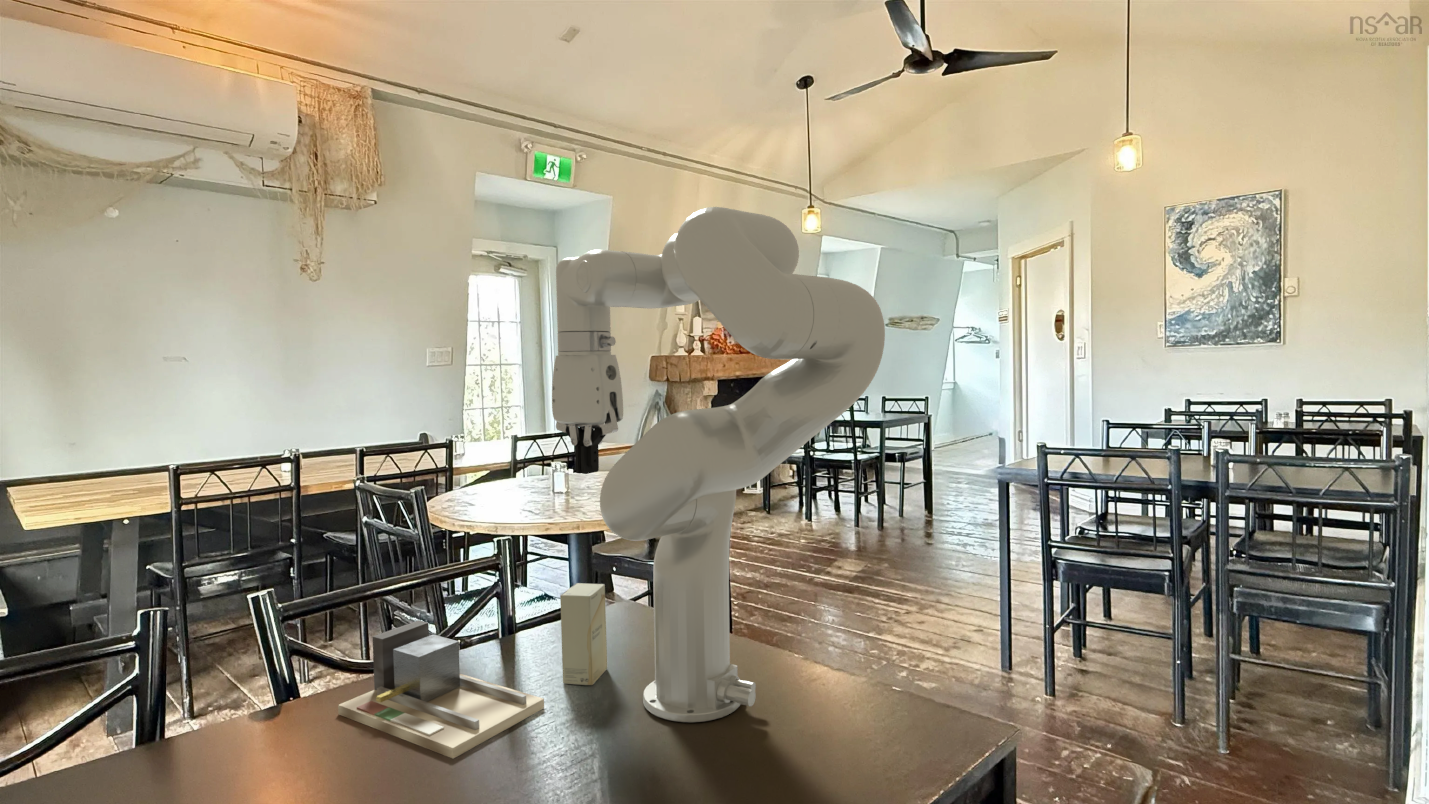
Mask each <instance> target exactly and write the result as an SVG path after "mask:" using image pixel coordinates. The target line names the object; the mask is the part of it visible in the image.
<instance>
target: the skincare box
mask: <svg viewBox="0 0 1429 804" xmlns="http://www.w3.org/2000/svg"><path fill="white" fill-rule="evenodd" d="M605 586H606V585H605V583H587V582H585V583H581V582H576V583H575V584H573V585H572V586H570V587H569V588H568V589H566V590H565V591H564V592H562V593H561V594H560V599H559V601H560V625H561V627H560V629H561V630H560V631H561V632H560V633H561V659H562V661H561V662H562V663H561V664H562V666H561V667H562V683H563V684H564V685H565V684H569V685H577V686H593V685H594V684H595V683H596V682H597V681H598V680H599V679H600V678H601V676H602V675H603V674H604V673H605V672H606V671H607V669H608V648H607V647H608V645H607V644H608V643H607V621H606V619H607V614H606V587H605Z"/></svg>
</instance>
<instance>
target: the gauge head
mask: <svg viewBox="0 0 1429 804" xmlns="http://www.w3.org/2000/svg"><path fill="white" fill-rule="evenodd" d="M459 645H460V641H458V640H455V639H451V638H448V637H444V636H440V635H436V634H431V635H430V634H429V636H427V637H425V638H422V639H419V640H417V641H414V642H412V643H409V644H406V645H404V646H401V647H398V648H396V649H393V657H394V684H395V688H394V689H392V690H390V691H387V692H385V693H383V694H380V695H378V696H376V701H378V702H380V703H381V702H383V701H385V700H388V699H390V698H392V697H395V696H397V695H399V694H401V693H402V694H405V695H408V696H411V697H414V698H416V699H419V700H422V701H425V702H428V701H430V700H432V699H435V698H437V697H439V696H441V695H443V694H445V693H448V692H450V691H452V690H454V689H456V688H458V687H460V674H461V673H460V670H461V669H460V648H459V647H460V646H459Z"/></svg>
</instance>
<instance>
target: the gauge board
mask: <svg viewBox="0 0 1429 804" xmlns="http://www.w3.org/2000/svg"><path fill="white" fill-rule="evenodd" d="M429 629H430V628H429V622H427V621H423V620H419V619H418V620H416V621H413V622H410V623H407V624H403V625H401V626H398V627H396V628H393V629H389V630H387V631H384V632H380V633H378V634H375V635H372V657H373V658H372V659H373V661H372V663H373V682H374V688H373V690H371V691H368V692H365V693H363V694H361V695H358V696H356V697H354V698H352V699H348V700H346V701H344V702H340V704H338V706H337V709H338V710H337V711H338V715H339V716H342V717H345V718H347V719H350V720H352V721H355V722H358V723H360V724H363V725H365V726H368V727H371V728H372V729H376V730H378V731H381V732H383V733H386V734H389V735H391V736H393V737H396V738H399V739H402V740H404V741H406V742H409V743H410V744H411V743H412V744H415V745H417V746H419V747H422V748H424V749H427V750H430V751H433V752H435V753H436V754H437V753H438V754H441V755H443V756H445V757H448V758H449V759H450V758H451V759H455V758H457V757H460V756H461V755H463V754H465V753H466V752H468V751H469V750H472V749H474V748H475V747H477V746H479V745H480V744H483V743H484V742H486V741H487V740H489V739H491V738H494V737H495V736H497V735H499V734H500V733H502V732H503V731H504V732H505V730H507V729H510V728H511V727H513V726H515V725H516V724H518V723H521V722H522V721H524V720H525V719H527V718H529V717H531V716H532V715H535V714H536V713H538V712H540V711H542V710H544V709H545V698H543V697H540V696H537V695H533V694H529V693H526V692H524V691H520V690H516V689H513V688H510V687H506V686H503V685H499V684H496V683H493V682H489V681H486V680H482V679H479V678H477V677H472V676H470V675H466V674H462V673H460V687H458V688H456V689H454V690H452V691H450V692H448V693H445V694H443V695H441V696H439V697H437V698H435V699H432V700H430V701H428V702H425V701H422V700H419V699H416V698H414V697H411V696H408V695H405V694H402V693H401V694H399V695H397V696H395V697H392V698H390V699H388V700H385V701H383V702H381V703H380V702H378V701H376V696H378V695H380V694H383V693H385V692H387V691H390V690H392V689H394V688H395V684H394V657H393V649H396V648H398V647H401V646H404V645H406V644H409V643H412V642H414V641H417V640H419V639H422V638H425V637H427V636H430V631H429Z"/></svg>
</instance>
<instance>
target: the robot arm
mask: <svg viewBox="0 0 1429 804" xmlns="http://www.w3.org/2000/svg"><path fill="white" fill-rule="evenodd" d="M661 252H662V253H661V254H648V253H640V252H631V251H619V250H609V249H593V250H590V251H587V252H585V253H583V254H582V255H580V256H575V257H573V256H572V257H565V258H563V259H561V260H560V261H558V263H556V264H557V265H556V269H555V276H556V277H555V280H556V284H555V285H556V287H555V288H556V319H557V320H556V322H557V323H556V324H557V355H555V359H554V366H553V373H552V384H551V385H552V386H551V410H552V411H551V412H552V417H553V419H554V420H555V421H556V425H555V428H556V430H557V431H560V432H562V433H566V434H567V436H568V437H569V438H570V442H571V445H572V446H574V447H575V448H574V451H575V453H574V454H575V455H574V456H575V473H576V474H579V475H580V474H583V475H588V474H593V473H597V472H599V470H600V468H599V467H600V466H599V465H600V462H599V460H600V457H599V455H600V454H599V445H602V443H603V440H604V438H605V437H606V436H607V435H610V434H613V433H617V432H618V430H619V426H618V425H619V424H618V423H619V422H621V421H622V420H623V418H624V397H623V387H622V378H621V372H620V367H619V363H618V359H617V355H616V354H612V346H613V347H614V346H615V345H616V343H617V342H616V337H615V336H613V335H611V334H612V333H611V331H612V330H611V308H634V309H648V310H649V309H663V308H673V307H680V306H681V307H682V306H687V305H693V304H695V303H696V302H698V301H701V303H702V304H703V305H704V306H705V307H706V308H707V309H708V311H710V312H711V314H712V315H713V316H714V317H715V319H716V320H717V321H718V322H719V323H720V324H721V325H722V326H723V328H724V329H725V330H726V331H727V332H728V333H729V335H730V336H731V337H732V338H733V339H734V340H735V341H736V342H737V343H738V344H739V345H740V346H741V347H742V348H744V349H745V350H747V351H748V352H749V353H751V354H753V355H755V356H757V357H761V358H763V359H768V360H769V359H770V360H788V362H786V363H784V364H782V365H781V366H778V367H777V368H775V369H773V370H772V371H770V372H769V373H767V374H766V375H765V376H764V377H762V378H761V379H759V380H758V382H757V383H756V384H755V385H754V386H753V387H752V388H751V389H750V390H748V391H747V392H746V393H745V394H744V395H743V396H741V397H740V398H738V399H737V400H735V401H734V402H732V403H731V404H728V405H727V404H726V405H724V406H717V407H708V408H693V409H689V410H687V409H686V410H681V411H677V412H675V413H672V414H670V415H667V416H666V417H664V418H662V419H661V420H659V421H657V422H656V423H655V424H654V425H653V426H651V428H650V429H649V430H647V431H646V432H645V434H643V435H642V436H641V437H640V438H639V439H638V440H637V441H636V442H635V443H634V444H633V445H632V446H631V447H630V448H629V449H628V450H627V451H626V452H625V453H624V454H623V455H622V456H621V457H620V459H618V460H617V462H616V463H615V464H613V466H612V467H611V468H610V469H609V471H608V473H607V474H606V477H605V478H604V481H603V482H602V486H601V490H600V494H599V507H600V508H599V509H600V513H601V514H600V515H601V518H602V520H603V522H604V524H605V525H606V526H607V528H608V529H609V530H610V532H612V533H613V534H614V535H615V536H617V537H619V538H622V539H624V540H627V541H632V542H639V541H641V542H642V541H646V540H651V539H655V538H659V541H658V544H657V547H656V550H655V553H654V554H655V555H654V558H653V567H652V568H653V571H652V572H653V573H652V575H653V577H652V578H653V580H652V581H653V584H652V585H653V586H652V587H653V636H654V637H653V638H654V640H653V642H654V644H653V645H654V680H653V681H652V682H650V683H649V684H647V685H646V687H645V688H644V690H643V692H642V694H643V695H642V702H643V706H644V708H645V709H646V711H648V712H650V713H651V714H652V715H654V716H655V717H657V718H661V719H663V720H666V721H672V722H679V723H701V722H703V723H704V722H709V721H713V720H717V719H721V718H725V717H726V716H728V715H729V714H732V713H734V712H735V711H736V710H737V709H739V707H740V706H741V705H743V706H747V707H753V705H754V704H755V701H756V695H757V694H756V689H757V688H756V687H757V685H756V684H757V683H756V682H754V681H750V680H743V679H740V677H739V676H738V670H739V669H738V665H736V664H733V663H730V662H731V657H730V656H731V651H730V650H731V649H730V648H731V647H730V641H731V639H730V581H729V580H730V543H731V541H730V539H731V532H732V524H733V518H734V514H735V513H734V512H735V508H736V503H737V502H736V500H737V490H739V489H743V488H744V489H745V488H747V487H750V486H753V485H755V484H756V483H758V482H760V481H761V480H763V479H764V478H765V477H767V475H769V474H770V473H771V472H772V471H773V470H775V469H776V467H778V466H780V465H781V464H782V463H783V462H785V461H786V460H787V459H788V458H789V457H791V456H792V455H793V454H794V453H796V452H797V451H798V450H800V449H801V448H802V447H803V446H804V445H806V444H807V443H808V442H809V440H811V439H812V438H814V437H815V436H817V434H818V433H820V432H821V431H822V430H824V429H825V428H827V427H828V426H829V425H830V424H831V423H832V422H834V421H835V420H837V419H838V418H839V417H840V416H841V415H842V414H844V413H845V412H846V411H847V410H848V409H850V408H851V406H853V405H854V403H856V402H857V401H858V400H859V398H861V397H862V395H863V394H864V393H865V392H866V390H867V389H868V387H869V386H870V385H871V384H872V381H873V380H874V378H875V376H876V374H877V371H878V370H879V367H880V365H881V361H882V358H883V354H884V349H885V338H886V333H885V332H886V328H885V321H884V320H885V319H884V315H883V312H882V310H881V307H880V305H879V304H878V302H877V300H876V298H875V297H874V296H873V295H872V294H871V293H870V292H869V291H867V290H866V289H864V288H863V287H861V286H859V285H857V284H855V283H852V282H850V281H848V280H844V279H840V278H834V277H826V276H825V277H824V276H817V275H816V276H815V275H808V274H807V275H805V274H797V273H794V272H795V271H796V268H797V266H798V263H799V258H800V254H799V253H800V249H799V245H798V241H797V238H796V236H795V235H794V233H793V231H791V229H790V228H789V227H788V226H787V225H786V223H784V222H782V221H780V220H779V219H777V218H775V217H772V216H770V215H769V216H768V215H765V214H760V213H756V212H749V211H744V210H737V209H734V208H733V209H732V208H728V207H722V206H721V207H720V206H709V207H705V208H701V209H698V210H697V211H694V212H693V213H692V214H691V215H689V216H688V217H686V219H685V220H684V221H683V222H682V224H681V225H680V227H679V229H678V231H677V233H674V234H673V235H671V237H669V239H668V240H667V242H665V245H664V247H663V249H662V251H661Z"/></svg>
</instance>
